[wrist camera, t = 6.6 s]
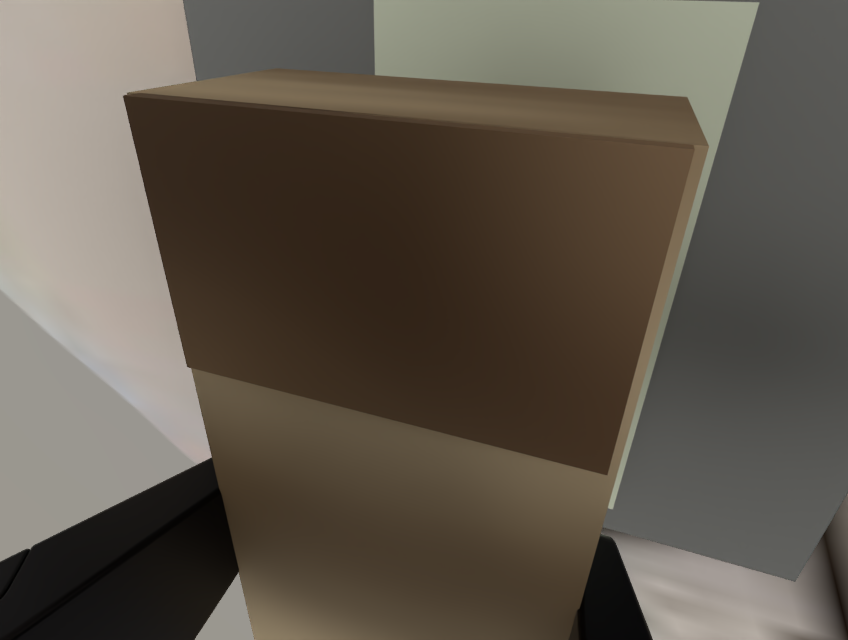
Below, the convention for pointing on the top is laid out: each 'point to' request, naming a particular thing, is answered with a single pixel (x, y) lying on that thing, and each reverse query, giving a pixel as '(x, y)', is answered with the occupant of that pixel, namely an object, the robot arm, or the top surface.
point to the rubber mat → (703, 240)
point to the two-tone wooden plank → (415, 332)
